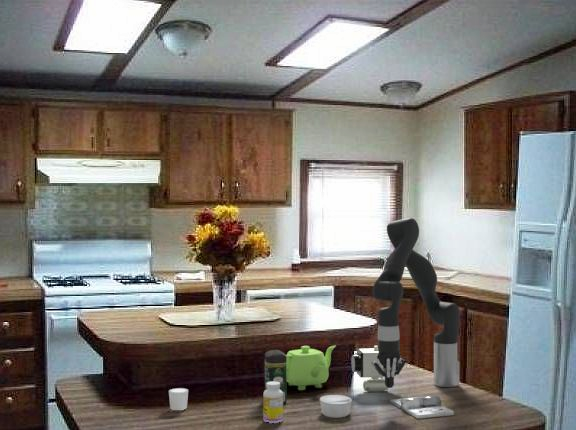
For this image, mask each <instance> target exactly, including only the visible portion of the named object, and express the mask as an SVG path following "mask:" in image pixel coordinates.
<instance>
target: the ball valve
mask: <svg viewBox="0 0 576 430" xmlns="http://www.w3.org/2000/svg"><path fill="white" fill-rule="evenodd" d="M377 356H378V345H373V348H356V352H355V354H352V355H351V370H352V372H353V373H356V374H357V375H358V376H359V377H360V378H369V379H367V380H363V383H362V387H363V391H364V392H368V393H374V392H376V393H377V392H378V393H382V392H386V391H388V390H389V388H387V387H386V386H385V377H384V376H382V375H380V374H379V373H378V371H377V370H376V369H375V368H374V366H373V365H372V362H373V361H375V360H376V359H377ZM379 363H380V362H379ZM397 364H398V363H397ZM397 364H396V365H397ZM380 367H381V369H382V370H383V366H382V365H381V363H380ZM383 371H384V370H383Z"/></svg>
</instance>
